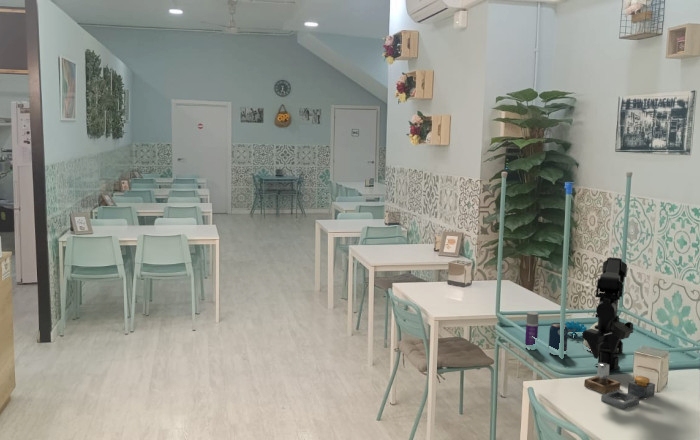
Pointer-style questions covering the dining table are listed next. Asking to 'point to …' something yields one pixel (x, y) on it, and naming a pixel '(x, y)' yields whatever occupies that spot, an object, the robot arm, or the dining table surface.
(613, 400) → the socket block
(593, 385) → the brown wooden tray
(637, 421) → the dining table surface
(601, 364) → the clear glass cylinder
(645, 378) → the plunger
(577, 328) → the blue irregular lump
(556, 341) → the soda can
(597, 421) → the dining table surface
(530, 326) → the container
